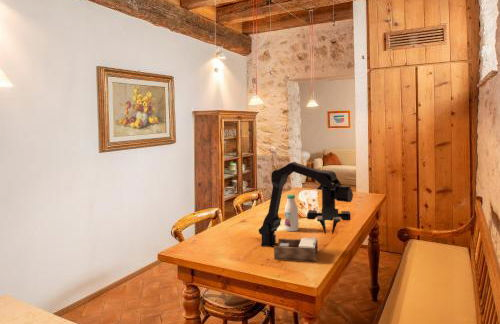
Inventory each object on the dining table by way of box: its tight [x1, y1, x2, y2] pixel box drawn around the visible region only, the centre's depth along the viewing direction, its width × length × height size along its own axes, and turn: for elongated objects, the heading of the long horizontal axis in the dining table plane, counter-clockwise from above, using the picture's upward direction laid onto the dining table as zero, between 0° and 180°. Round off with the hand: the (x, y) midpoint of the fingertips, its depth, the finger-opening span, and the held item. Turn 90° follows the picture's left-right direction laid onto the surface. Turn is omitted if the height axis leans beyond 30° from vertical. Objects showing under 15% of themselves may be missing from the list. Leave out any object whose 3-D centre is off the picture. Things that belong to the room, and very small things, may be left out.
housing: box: [273, 238, 319, 263], centre depth 172 cm, size 18×12×6 cm, turn 75°
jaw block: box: [278, 243, 289, 247], centre depth 173 cm, size 4×4×4 cm
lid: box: [299, 236, 318, 248], centre depth 170 cm, size 7×12×2 cm, turn 165°
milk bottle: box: [284, 194, 300, 232], centre depth 210 cm, size 8×8×20 cm
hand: (329, 233), depth 167 cm, fingers open, 3 cm apart
